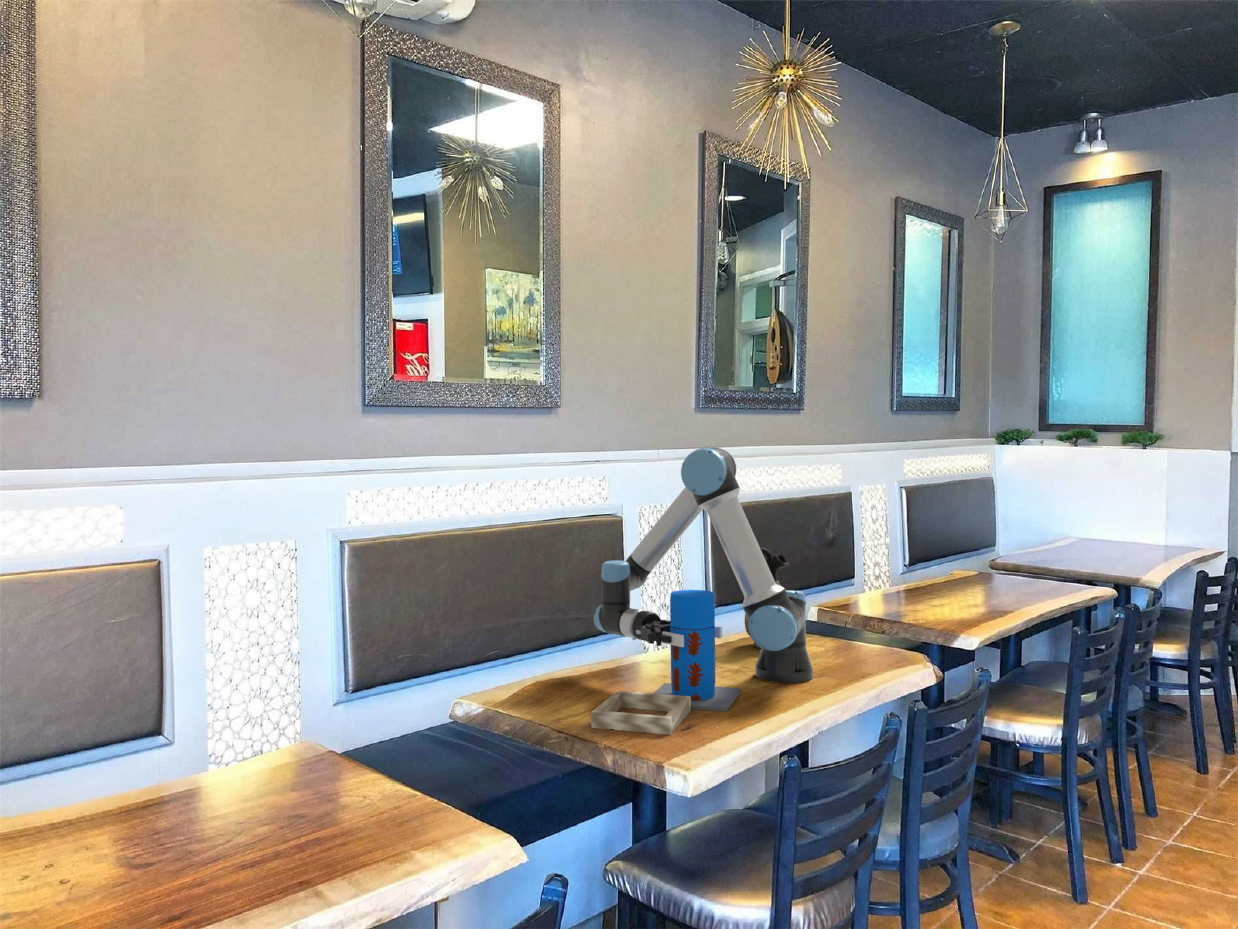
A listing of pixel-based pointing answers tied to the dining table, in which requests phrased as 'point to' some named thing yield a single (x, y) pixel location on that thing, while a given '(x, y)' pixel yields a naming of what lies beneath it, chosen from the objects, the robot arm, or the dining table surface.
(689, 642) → the thermos
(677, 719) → the wooden collar
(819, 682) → the dining table surface
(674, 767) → the dining table surface
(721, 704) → the rubber mat
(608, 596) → the robot arm
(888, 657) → the dining table surface
